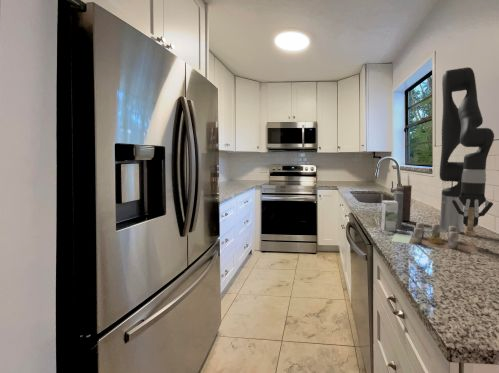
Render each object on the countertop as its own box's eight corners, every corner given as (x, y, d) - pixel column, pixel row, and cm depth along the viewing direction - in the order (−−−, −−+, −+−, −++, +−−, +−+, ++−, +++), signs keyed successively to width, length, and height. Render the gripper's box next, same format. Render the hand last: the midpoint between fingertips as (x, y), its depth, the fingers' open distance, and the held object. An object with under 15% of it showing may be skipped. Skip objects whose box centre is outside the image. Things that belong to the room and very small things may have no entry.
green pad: (411, 237, 143) (412, 235, 143) (408, 245, 129) (408, 243, 129) (395, 235, 146) (396, 233, 146) (390, 243, 132) (390, 241, 132)
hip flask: (392, 222, 176) (394, 185, 174) (400, 223, 175) (402, 186, 173) (394, 228, 161) (396, 188, 159) (403, 229, 160) (405, 188, 158)
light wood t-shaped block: (473, 232, 127) (475, 206, 126) (475, 236, 122) (477, 208, 120) (464, 231, 129) (466, 205, 128) (465, 235, 123) (467, 208, 122)
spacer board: (473, 244, 132) (475, 227, 131) (477, 255, 118) (478, 236, 117) (412, 237, 143) (412, 221, 143) (408, 245, 129) (409, 228, 128)
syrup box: (392, 229, 159) (393, 200, 158) (396, 232, 153) (398, 201, 152) (380, 229, 159) (381, 199, 158) (384, 231, 154) (385, 201, 152)
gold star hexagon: (438, 241, 133) (438, 236, 133) (444, 243, 129) (444, 238, 129) (425, 240, 133) (426, 236, 133) (431, 243, 129) (432, 238, 129)
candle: (408, 222, 176) (411, 186, 174) (394, 221, 180) (396, 185, 178) (410, 220, 183) (412, 185, 181) (396, 219, 186) (398, 184, 185)
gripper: (494, 181, 123) (491, 226, 125) (451, 179, 130) (448, 222, 132) (497, 182, 116) (493, 230, 118) (452, 181, 123) (449, 225, 125)
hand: (470, 225), depth 125 cm, fingers closed on light wood t-shaped block, 2 cm apart
